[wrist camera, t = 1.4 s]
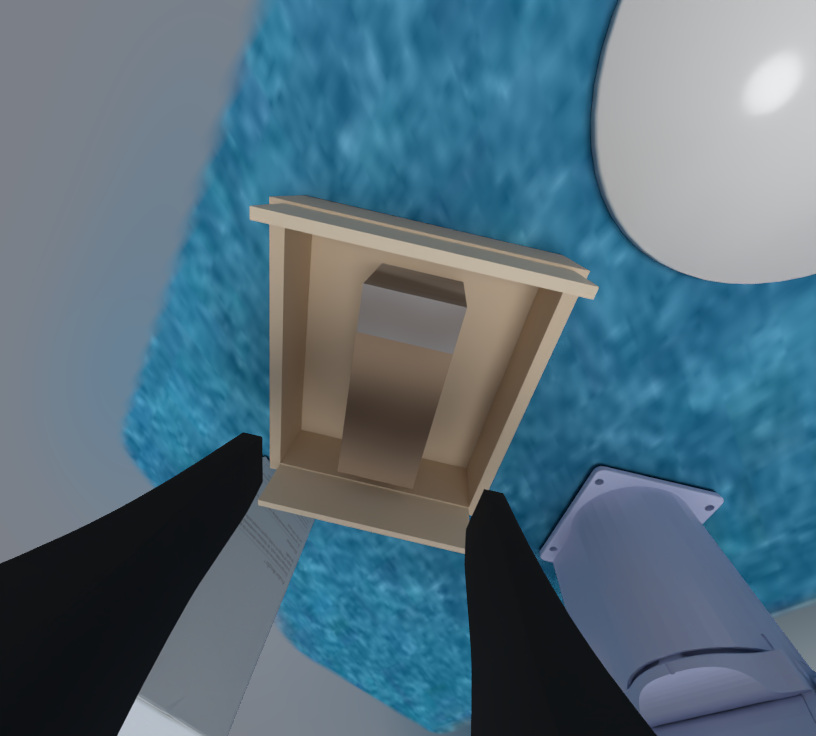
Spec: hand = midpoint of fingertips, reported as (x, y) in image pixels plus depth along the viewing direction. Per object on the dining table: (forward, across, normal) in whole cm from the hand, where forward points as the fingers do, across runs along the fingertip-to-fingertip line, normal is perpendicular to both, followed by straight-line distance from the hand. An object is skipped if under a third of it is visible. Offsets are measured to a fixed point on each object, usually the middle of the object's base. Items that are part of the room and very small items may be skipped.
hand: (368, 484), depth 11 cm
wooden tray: (+9, 0, 0) cm, 9 cm away
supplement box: (+10, +9, +15) cm, 20 cm away
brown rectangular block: (+9, 0, 0) cm, 9 cm away
